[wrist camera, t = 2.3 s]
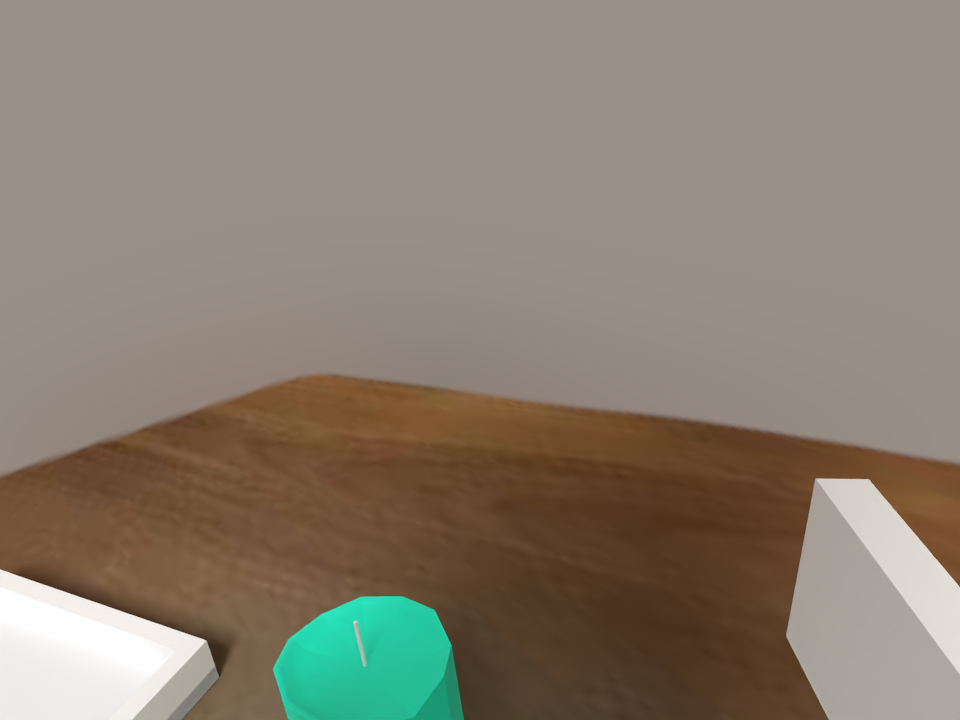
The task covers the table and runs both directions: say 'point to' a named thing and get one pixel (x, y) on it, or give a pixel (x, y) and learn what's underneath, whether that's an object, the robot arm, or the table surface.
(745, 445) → the table surface
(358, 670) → the candle
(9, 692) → the tray
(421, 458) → the table surface
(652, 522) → the table surface
